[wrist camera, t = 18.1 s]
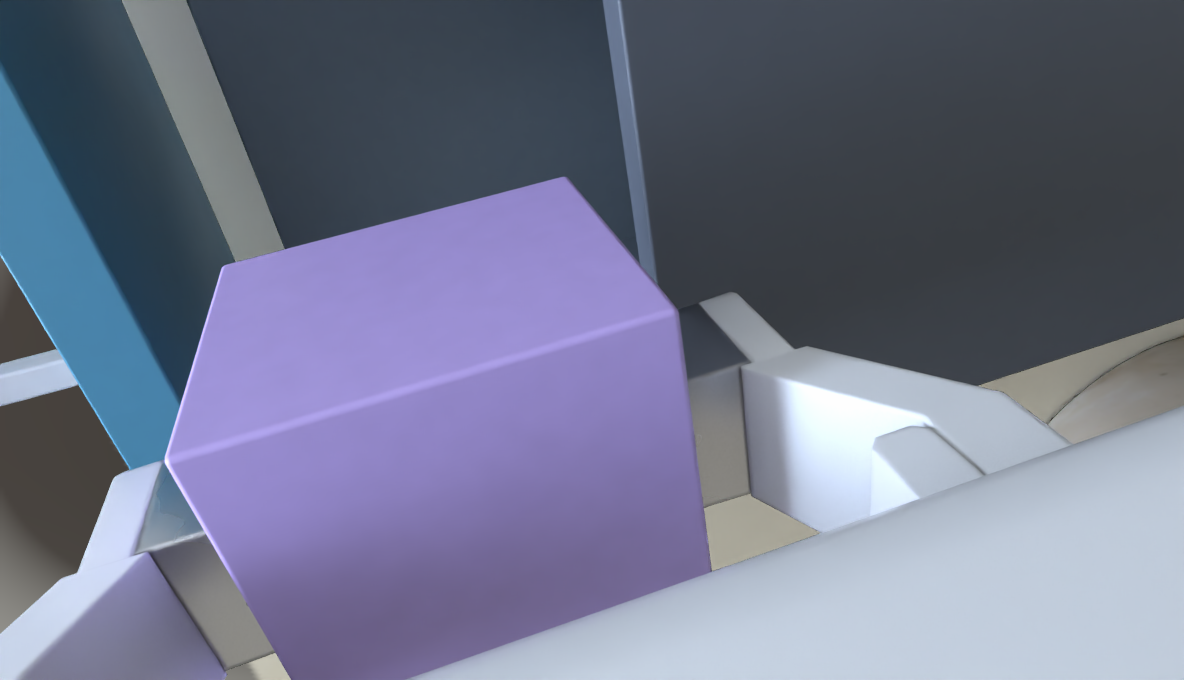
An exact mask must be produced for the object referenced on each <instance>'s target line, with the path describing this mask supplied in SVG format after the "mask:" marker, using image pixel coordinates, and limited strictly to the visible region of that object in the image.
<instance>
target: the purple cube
mask: <svg viewBox="0 0 1184 680" xmlns="http://www.w3.org/2000/svg"><path fill="white" fill-rule="evenodd" d="M165 464H166V466H167V468H168V470H169V471H170V473H171V475H172V476H173V478H174V480H175V482H176V483H177V485H178V487H179V488H180V490H181V492H182V494H183V495H184V497H185V499H186V500H187V502H188V504H189V505H190V507H191V509H192V511H193V512H194V514H195V516H196V517H197V519H198V521H199V523H200V524H201V526H202V528H203V529H204V531H205V533H206V535H207V536H208V538H209V540H210V541H211V543H212V545H213V547H214V548H215V550H216V552H217V553H218V555H219V557H220V559H221V560H222V562H223V564H224V565H225V567H226V569H227V571H228V572H229V574H230V576H231V577H232V579H233V581H234V583H235V584H236V586H237V588H238V589H239V591H240V593H241V594H242V596H243V598H244V600H245V601H246V603H247V605H248V606H249V608H250V610H251V612H252V613H253V615H254V617H255V618H256V620H257V622H258V624H259V625H260V627H261V629H262V630H263V632H264V634H265V636H266V637H267V639H268V641H269V642H270V644H271V646H272V648H273V649H274V651H275V653H276V654H277V656H278V658H279V660H280V661H281V663H282V665H283V666H284V668H285V670H286V672H287V673H288V675H289V677H290V678H291V680H406V679H408V678H411V677H414V676H417V675H420V674H423V673H426V672H428V671H431V670H434V669H437V668H440V667H443V666H446V665H448V664H451V663H454V662H457V661H460V660H463V659H465V658H468V657H471V656H474V655H477V654H480V653H482V652H485V651H488V650H491V649H494V648H497V647H499V646H502V645H505V644H508V643H511V642H514V641H517V640H519V639H522V638H525V637H528V636H531V635H534V634H536V633H539V632H542V631H545V630H548V629H551V628H553V627H556V626H559V625H562V624H565V623H568V622H570V621H573V620H576V619H579V618H582V617H585V616H587V615H590V614H593V613H596V612H599V611H602V610H605V609H607V608H610V607H613V606H616V605H619V604H622V603H624V602H627V601H630V600H633V599H636V598H639V597H641V596H644V595H647V594H650V593H653V592H656V591H658V590H661V589H664V588H667V587H670V586H673V585H676V584H678V583H681V582H684V581H687V580H690V579H693V578H695V577H698V576H701V575H704V574H707V573H710V572H712V570H711V562H710V554H709V546H708V538H707V530H706V522H705V514H704V506H703V498H702V491H701V483H700V475H699V467H698V459H697V451H696V443H695V435H694V427H693V419H692V412H691V404H690V396H689V388H688V380H687V372H686V364H685V356H684V348H683V341H682V333H681V325H680V317H679V311H678V309H677V308H676V307H675V305H674V304H673V303H672V302H671V301H670V299H669V298H668V297H667V296H666V295H665V293H664V292H663V291H662V290H661V289H660V287H659V286H658V285H657V284H656V283H655V281H654V280H653V279H652V278H651V277H650V275H649V274H648V273H647V272H646V271H645V269H644V268H643V267H642V266H641V265H640V263H639V262H638V261H637V260H636V259H635V257H634V256H633V255H632V254H631V253H630V251H629V250H628V249H627V248H626V247H625V245H624V244H623V243H622V242H621V241H620V239H619V238H618V237H617V236H616V235H615V233H614V232H613V231H612V230H611V229H610V227H609V226H608V225H607V224H606V223H605V221H604V220H603V219H602V218H601V217H600V215H599V214H598V213H597V212H596V211H595V209H594V208H593V207H592V206H591V205H590V203H589V202H588V201H587V200H586V199H585V198H584V196H583V195H582V194H581V193H580V192H579V190H578V189H577V188H576V187H575V186H574V184H573V183H572V182H571V181H570V180H569V178H568V177H560V178H556V179H552V180H548V181H545V182H541V183H537V184H533V185H529V186H526V187H522V188H518V189H514V190H510V191H506V192H503V193H499V194H495V195H491V196H487V197H483V198H480V199H476V200H472V201H468V202H464V203H461V204H457V205H453V206H449V207H445V208H441V209H438V210H434V211H430V212H426V213H422V214H418V215H415V216H411V217H407V218H403V219H399V220H396V221H392V222H388V223H384V224H380V225H376V226H373V227H369V228H365V229H361V230H357V231H353V232H350V233H346V234H342V235H338V236H334V237H331V238H327V239H323V240H319V241H315V242H311V243H308V244H304V245H300V246H296V247H292V248H288V249H285V250H281V251H277V252H273V253H269V254H266V255H262V256H258V257H254V258H250V259H246V260H243V261H239V262H235V263H231V264H227V265H225V266H223V267H222V269H221V272H220V276H219V279H218V282H217V286H216V289H215V292H214V295H213V299H212V302H211V305H210V309H209V312H208V315H207V319H206V322H205V325H204V329H203V332H202V335H201V339H200V342H199V345H198V349H197V352H196V355H195V359H194V362H193V365H192V369H191V372H190V375H189V379H188V382H187V385H186V389H185V392H184V395H183V398H182V402H181V405H180V408H179V412H178V415H177V418H176V422H175V425H174V428H173V432H172V435H171V438H170V442H169V445H168V448H167V452H166V455H165Z"/></svg>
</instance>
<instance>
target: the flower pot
mask: <svg viewBox="0 0 1184 680" xmlns="http://www.w3.org/2000/svg"><path fill="white" fill-rule="evenodd" d="M1181 406H1184V337H1181V338H1178V339H1174V340H1171V341H1168V342H1166V343H1163V344H1161V345H1158V346H1155V347H1153V348H1151V349H1148V350H1146V351H1144V352H1142V353H1140V354H1138V355H1136V356H1135V357H1133V358H1131V359H1129V360H1127V361H1125V362H1123V363H1122V364H1120V365H1118V366H1117V367H1115V368H1114V369H1112V370H1111V371H1109V372H1108V373H1106V374H1105V375H1103V376H1102V377H1100V378H1099V379H1098V380H1096V381H1095V382H1094V383H1092V384H1091V385H1090V386H1088V387H1087V388H1086V389H1085V390H1083V391H1082V392H1081V393H1080V394H1079V395H1077V396H1076V397H1075V398H1074V399H1073V400H1072V401H1071V402H1070V403H1068V404H1067V405H1066V406H1065V407H1064V408H1063V409H1062V410H1061V411H1060V412H1059V413H1058V414H1057V415H1056V416H1055V417H1054V418H1053V419H1052V420H1051V422H1050V423H1049V424H1048V426H1050V427H1051V428H1052V429H1054V430H1055V431H1056V432H1058V433H1059V434H1060V435H1062V436H1063V437H1064V438H1066V439H1067V440H1068V441H1070V442H1071V443H1072V444H1076V443H1079V442H1082V441H1084V440H1087V439H1090V438H1093V437H1096V436H1099V435H1101V434H1104V433H1107V432H1110V431H1113V430H1116V429H1119V428H1121V427H1124V426H1127V425H1130V424H1133V423H1136V422H1138V421H1141V420H1144V419H1147V418H1150V417H1153V416H1155V415H1158V414H1161V413H1164V412H1167V411H1170V410H1172V409H1175V408H1178V407H1181Z"/></svg>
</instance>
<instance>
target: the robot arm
mask: <svg viewBox="0 0 1184 680" xmlns="http://www.w3.org/2000/svg"><path fill="white" fill-rule="evenodd" d="M678 311H679V317H680V325H681V333H682V341H683V348H684V356H685V364H686V372H687V380H688V388H689V396H690V404H691V412H692V419H693V427H694V435H695V443H696V451H697V459H698V467H699V475H700V483H701V491H702V498H703V506H704V507H708V506H711V505H714V504H717V503H721V502H724V501H727V500H730V499H734V498H737V497H740V496H743V495H746V494H750V493H751V496H752V497H754V498H756V499H758V500H760V501H762V502H764V503H765V504H767V505H769V506H771V507H773V508H775V509H777V510H779V511H781V512H783V513H784V514H786V515H788V516H790V517H792V518H794V519H796V520H798V521H800V522H802V523H803V524H805V525H807V526H809V527H811V528H813V529H815V530H817V531H819V532H821V533H820V534H818V535H815V536H812V537H809V538H806V539H803V540H800V541H798V542H795V543H792V544H789V545H786V546H783V547H781V548H778V549H775V550H772V551H769V552H766V553H764V554H761V555H758V556H755V557H752V558H749V559H747V560H744V561H741V562H738V563H735V564H732V565H729V566H727V567H724V568H721V569H718V570H715V571H712V572H710V573H707V574H704V575H701V576H698V577H695V578H693V579H690V580H687V581H684V582H681V583H678V584H676V585H673V586H670V587H667V588H664V589H661V590H658V591H656V592H653V593H650V594H647V595H644V596H641V597H639V598H636V599H633V600H630V601H627V602H624V603H622V604H619V605H616V606H613V607H610V608H607V609H605V610H602V611H599V612H596V613H593V614H590V615H587V616H585V617H582V618H579V619H576V620H573V621H570V622H568V623H565V624H562V625H559V626H556V627H553V628H551V629H548V630H545V631H542V632H539V633H536V634H534V635H531V636H528V637H525V638H522V639H519V640H517V641H514V642H511V643H508V644H505V645H502V646H499V647H497V648H494V649H491V650H488V651H485V652H482V653H480V654H477V655H474V656H471V657H468V658H465V659H463V660H460V661H457V662H454V663H451V664H448V665H446V666H443V667H440V668H437V669H434V670H431V671H428V672H426V673H423V674H420V675H417V676H414V677H411V678H408V679H406V680H1184V406H1181V407H1178V408H1175V409H1172V410H1170V411H1167V412H1164V413H1161V414H1158V415H1155V416H1153V417H1150V418H1147V419H1144V420H1141V421H1138V422H1136V423H1133V424H1130V425H1127V426H1124V427H1121V428H1119V429H1116V430H1113V431H1110V432H1107V433H1104V434H1101V435H1099V436H1096V437H1093V438H1090V439H1087V440H1084V441H1082V442H1079V443H1076V444H1072V443H1071V442H1070V441H1068V440H1067V439H1066V438H1064V437H1063V436H1062V435H1060V434H1059V433H1058V432H1056V431H1055V430H1054V429H1052V428H1051V427H1050V426H1048V425H1047V424H1045V423H1044V422H1043V421H1041V420H1040V419H1039V418H1037V417H1036V416H1035V415H1033V414H1032V413H1031V412H1029V411H1028V410H1027V409H1025V408H1024V407H1023V406H1021V405H1020V404H1018V403H1017V402H1016V401H1014V400H1013V399H1012V398H1010V397H1009V396H1008V395H1006V394H1005V393H1004V392H1000V391H996V390H992V389H987V388H983V387H979V386H975V385H970V384H966V383H962V382H958V381H953V380H949V379H945V378H941V377H936V376H932V375H928V374H923V373H919V372H915V371H911V370H906V369H902V368H898V367H894V366H889V365H885V364H881V363H877V362H872V361H868V360H864V359H860V358H855V357H851V356H847V355H843V354H838V353H834V352H830V351H826V350H821V349H817V348H813V347H808V346H805V347H802V348H798V349H794V348H793V347H792V346H791V345H790V344H789V343H788V342H787V341H786V340H785V339H784V338H783V337H782V336H781V335H780V334H779V333H778V332H777V331H776V330H775V329H774V328H772V327H771V326H770V325H769V324H768V323H767V322H766V321H765V320H764V319H763V318H762V317H761V316H760V315H759V314H758V313H757V312H756V311H755V310H754V309H753V308H752V307H751V306H750V305H748V304H747V303H746V302H745V301H744V300H743V299H742V298H741V297H740V296H739V295H738V294H737V293H733V292H728V293H725V294H722V295H719V296H716V297H713V298H711V299H708V300H705V301H702V302H699V303H696V304H692V305H689V306H686V307H683V308H680V309H678ZM273 653H275V651H274V649H273V648H272V646H271V644H270V642H269V641H268V639H267V637H266V636H265V634H264V632H263V630H262V629H261V627H260V625H259V624H258V622H257V620H256V618H255V617H254V615H253V613H252V612H251V610H250V608H249V606H248V605H247V603H246V601H245V600H244V598H243V596H242V594H241V593H240V591H239V589H238V588H237V586H236V584H235V583H234V581H233V579H232V577H231V576H230V574H229V572H228V571H227V569H226V567H225V565H224V564H223V562H222V560H221V559H220V557H219V555H218V553H217V552H216V550H215V548H214V547H213V545H212V543H211V541H210V540H209V538H208V536H207V535H206V533H205V531H204V529H203V528H202V526H201V524H200V523H199V521H198V519H197V517H196V516H195V514H194V512H193V511H192V509H191V507H190V505H189V504H188V502H187V500H186V499H185V497H184V495H183V494H182V492H181V490H180V488H179V487H178V485H177V483H176V482H175V480H174V478H173V476H172V475H171V473H170V471H169V470H168V468H167V466H166V464H165V460H161V461H157V462H154V463H151V464H148V465H145V466H141V467H138V468H135V469H132V470H129V471H126V472H123V473H121V474H119V475H118V476H116V477H114V479H113V481H112V484H111V487H110V489H109V492H108V495H107V497H106V500H105V502H104V505H103V507H102V510H101V513H100V515H99V518H98V520H97V523H96V526H95V528H94V531H93V533H92V536H91V539H90V541H89V544H88V546H87V549H86V552H85V554H84V557H83V560H82V562H81V565H80V568H79V570H78V573H76V574H73V575H70V576H67V577H64V578H62V579H60V580H59V581H58V582H57V583H56V584H55V585H54V586H53V587H52V588H50V589H49V590H48V591H47V592H46V593H45V594H44V595H43V596H42V597H41V598H40V599H38V600H37V601H36V602H35V603H34V604H33V605H32V606H31V607H30V608H29V609H27V610H26V611H25V612H24V613H23V614H22V615H21V616H20V617H19V618H17V619H16V620H15V621H14V622H13V623H12V624H11V625H10V626H9V627H7V628H6V629H5V630H4V631H3V632H2V633H1V634H0V680H224V679H225V677H226V676H227V673H226V672H225V671H226V670H229V669H232V668H235V667H237V666H240V665H243V664H246V663H249V662H251V661H254V660H257V659H259V658H262V657H265V656H268V655H270V654H273Z"/></svg>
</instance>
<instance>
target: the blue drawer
mask: <svg viewBox="0 0 1184 680" xmlns="http://www.w3.org/2000/svg"><path fill="white" fill-rule="evenodd" d="M186 1H187V3H188V6H189V8H190V11H191V13H192V16H193V18H194V21H195V23H196V26H197V29H198V31H199V34H200V36H201V39H202V41H203V44H204V46H205V49H206V51H207V54H208V56H209V59H210V61H211V64H212V66H213V69H214V71H215V74H216V76H217V79H218V81H219V84H220V86H221V89H222V92H223V94H224V97H225V99H226V102H227V104H228V107H229V109H230V112H231V114H232V117H233V119H234V122H235V124H236V127H237V129H238V132H239V134H240V137H241V139H242V142H243V144H244V147H245V150H246V152H247V155H248V157H249V160H250V162H251V165H252V167H253V170H254V172H255V175H256V177H257V180H258V182H259V185H260V187H261V190H262V192H263V195H264V197H265V200H266V202H267V205H268V207H269V210H270V213H271V215H272V218H273V220H274V223H275V225H276V228H277V230H278V233H279V235H280V238H281V240H282V243H283V245H284V248H285V249H288V248H292V247H296V246H300V245H304V244H308V243H311V242H315V241H319V240H323V239H327V238H331V237H334V236H338V235H342V234H346V233H350V232H353V231H357V230H361V229H365V228H369V227H373V226H376V225H380V224H384V223H388V222H392V221H396V220H399V219H403V218H407V217H411V216H415V215H418V214H422V213H426V212H430V211H434V210H438V209H441V208H445V207H449V206H453V205H457V204H461V203H464V202H468V201H472V200H476V199H480V198H483V197H487V196H491V195H495V194H499V193H503V192H506V191H510V190H514V189H518V188H522V187H526V186H529V185H533V184H537V183H541V182H545V181H548V180H552V179H556V178H560V177H568V178H569V180H570V181H571V182H572V183H573V184H574V186H575V187H576V188H577V189H578V190H579V192H580V193H581V194H582V195H583V196H584V198H585V199H586V200H587V201H588V202H589V203H590V205H591V206H592V207H593V208H594V209H595V211H596V212H597V213H598V214H599V215H600V217H601V218H602V219H603V220H604V221H605V223H606V224H607V225H608V226H609V227H610V229H611V230H612V231H613V232H614V233H615V235H616V236H617V237H618V238H619V239H620V241H621V242H622V243H623V244H624V245H625V247H626V248H627V249H628V250H629V251H630V253H631V254H632V255H633V256H634V257H635V259H636V260H637V261H638V262H639V263H640V260H639V253H638V245H637V238H636V231H635V224H634V217H633V210H632V203H631V196H630V189H629V182H628V175H627V168H626V161H625V154H624V147H623V140H622V133H621V126H620V119H619V112H618V105H617V98H616V91H615V84H614V76H613V69H612V62H611V55H610V48H609V41H608V34H607V27H606V20H605V13H604V6H603V0H186ZM0 256H1V257H2V259H3V261H4V262H5V264H6V266H7V267H8V269H9V271H10V272H11V274H12V276H13V277H14V279H15V281H16V282H17V284H18V286H19V287H20V289H21V290H22V292H23V294H24V295H25V297H26V299H27V300H28V302H29V304H30V305H31V307H32V309H33V310H34V312H35V313H36V315H37V317H38V319H39V320H40V322H41V323H42V325H43V327H44V328H45V330H46V332H47V333H48V335H49V337H50V338H51V340H52V341H53V343H54V345H55V346H56V348H57V349H56V350H52V351H48V352H44V353H41V354H37V355H33V356H29V357H26V358H22V359H18V360H14V361H10V362H7V363H3V364H0V406H3V405H6V404H10V403H14V402H18V401H21V400H25V399H29V398H33V397H36V396H40V395H44V394H47V393H51V392H55V391H58V390H62V389H66V388H70V387H73V386H77V385H79V386H80V388H81V390H82V391H83V393H84V395H85V396H86V398H87V400H88V401H89V403H90V405H91V406H92V408H93V409H94V411H95V413H96V414H97V416H98V418H99V419H100V421H101V423H102V424H103V426H104V428H105V429H106V431H107V433H108V434H109V436H110V438H111V439H112V441H113V443H114V444H115V446H116V447H117V449H118V451H119V452H120V454H121V456H122V457H123V459H124V461H125V462H126V464H127V466H128V467H129V469H130V470H132V469H135V468H138V467H141V466H145V465H148V464H151V463H154V462H157V461H161V460H165V455H166V452H167V448H168V445H169V442H170V438H171V435H172V432H173V428H174V425H175V422H176V418H177V415H178V412H179V408H180V405H181V402H182V398H183V395H184V392H185V389H186V385H187V382H188V379H189V375H190V372H191V369H192V365H193V362H194V359H195V355H196V352H197V349H198V345H199V342H200V339H201V335H202V332H203V329H204V325H205V322H206V319H207V315H208V312H209V309H210V305H211V302H212V299H213V295H214V292H215V289H216V286H217V282H218V279H219V276H220V272H221V269H222V267H223V266H225V265H227V264H231V263H235V260H234V257H233V255H232V253H231V251H230V248H229V246H228V244H227V241H226V239H225V237H224V235H223V232H222V230H221V228H220V225H219V223H218V221H217V219H216V216H215V214H214V212H213V209H212V207H211V205H210V203H209V200H208V198H207V196H206V193H205V191H204V189H203V186H202V184H201V182H200V180H199V177H198V175H197V173H196V170H195V168H194V166H193V164H192V161H191V159H190V157H189V154H188V152H187V150H186V148H185V145H184V143H183V141H182V138H181V136H180V134H179V132H178V129H177V127H176V125H175V122H174V120H173V118H172V115H171V113H170V111H169V109H168V106H167V104H166V102H165V99H164V97H163V95H162V93H161V90H160V88H159V86H158V83H157V81H156V79H155V77H154V74H153V72H152V70H151V67H150V65H149V63H148V60H147V58H146V56H145V54H144V51H143V49H142V47H141V44H140V42H139V40H138V38H137V35H136V33H135V31H134V28H133V26H132V24H131V22H130V19H129V17H128V15H127V12H126V10H125V8H124V6H123V3H122V1H121V0H0Z"/></svg>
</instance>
